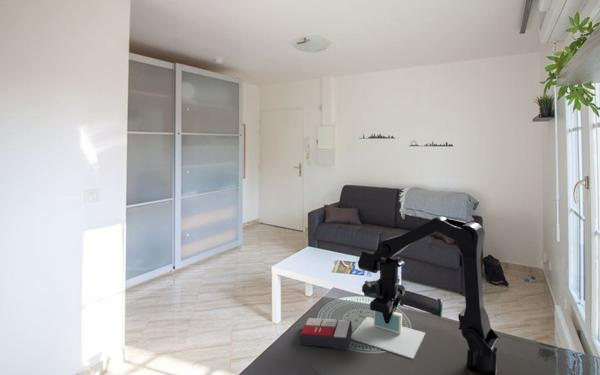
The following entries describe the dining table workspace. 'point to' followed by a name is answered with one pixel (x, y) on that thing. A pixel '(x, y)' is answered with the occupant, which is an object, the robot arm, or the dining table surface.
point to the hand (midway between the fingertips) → (387, 321)
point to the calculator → (327, 333)
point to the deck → (393, 325)
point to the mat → (389, 338)
